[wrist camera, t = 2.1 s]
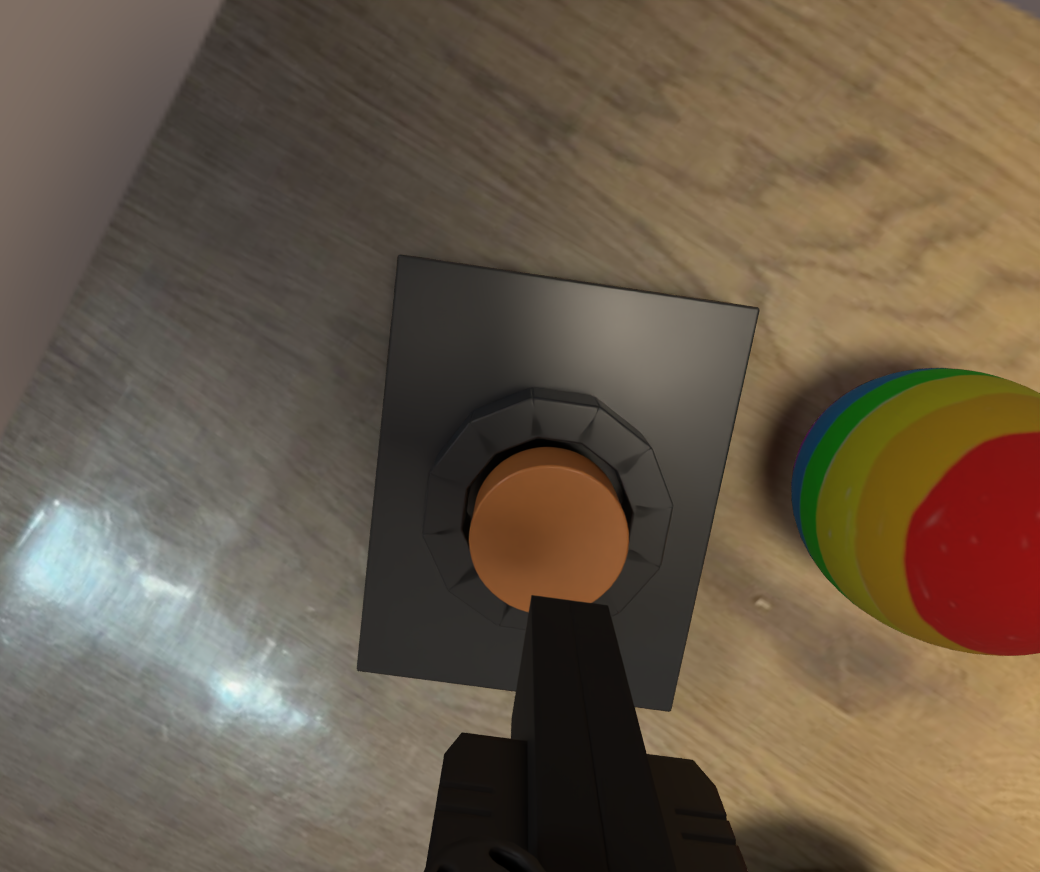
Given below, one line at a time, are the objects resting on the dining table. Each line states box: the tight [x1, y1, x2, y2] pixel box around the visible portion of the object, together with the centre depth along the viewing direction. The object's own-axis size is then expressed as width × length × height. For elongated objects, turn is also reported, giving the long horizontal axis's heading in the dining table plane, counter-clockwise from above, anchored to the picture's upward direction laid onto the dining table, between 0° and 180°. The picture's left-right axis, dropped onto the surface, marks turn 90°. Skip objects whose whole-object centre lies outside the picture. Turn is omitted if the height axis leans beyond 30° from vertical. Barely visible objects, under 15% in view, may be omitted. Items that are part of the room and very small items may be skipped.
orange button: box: [469, 447, 629, 612], centre depth 20 cm, size 4×4×2 cm
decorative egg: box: [791, 368, 1040, 656], centre depth 20 cm, size 8×8×10 cm
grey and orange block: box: [357, 255, 759, 712], centre depth 23 cm, size 14×11×5 cm
